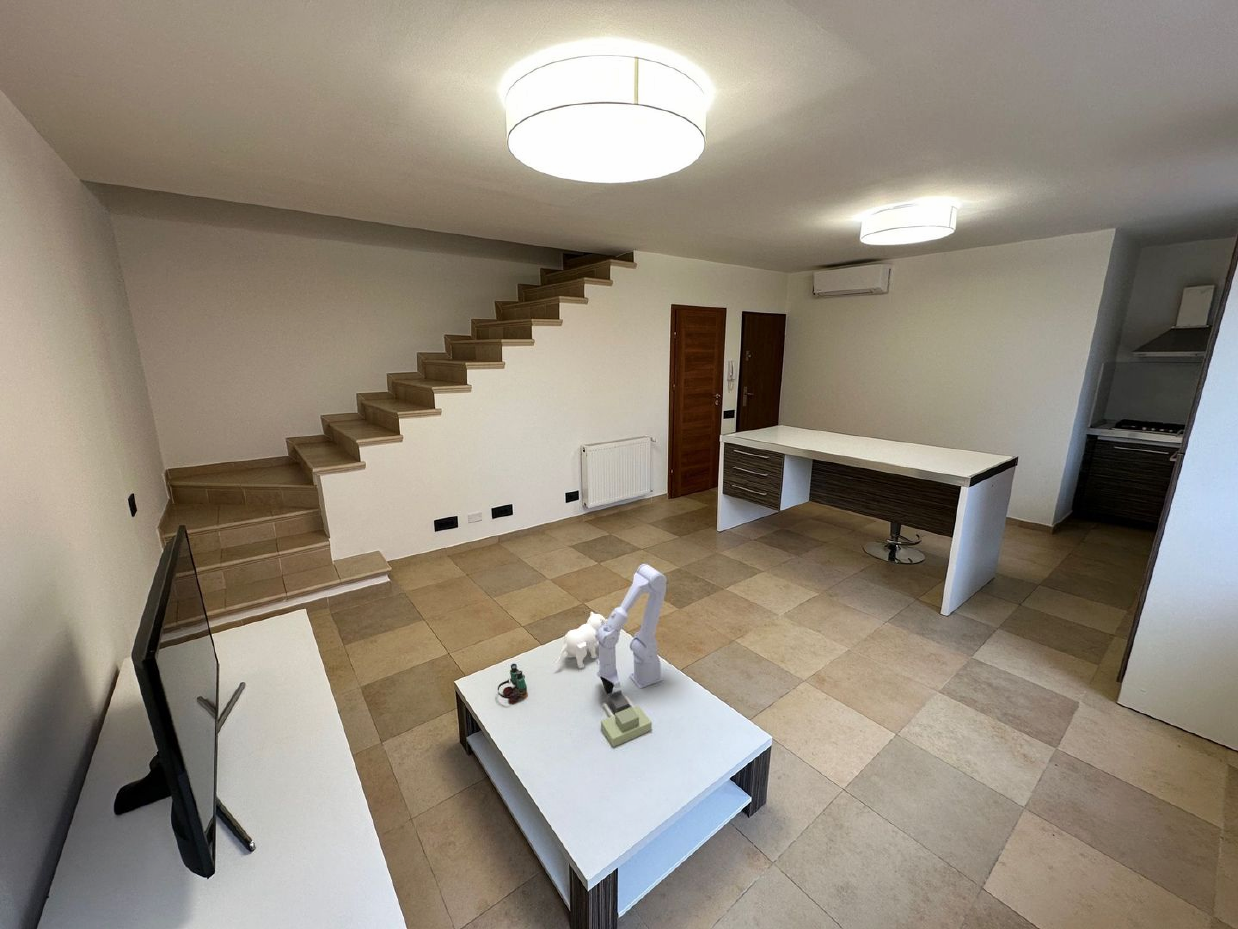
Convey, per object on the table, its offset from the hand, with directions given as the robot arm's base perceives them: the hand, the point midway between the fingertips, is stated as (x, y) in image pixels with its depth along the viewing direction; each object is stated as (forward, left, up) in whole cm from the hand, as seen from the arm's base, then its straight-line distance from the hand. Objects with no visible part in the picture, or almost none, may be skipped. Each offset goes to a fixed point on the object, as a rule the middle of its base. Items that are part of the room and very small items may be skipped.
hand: (608, 692), depth 172 cm
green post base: (+2, +13, -1) cm, 13 cm away
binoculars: (+30, -16, -1) cm, 34 cm away
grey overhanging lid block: (0, +8, -1) cm, 8 cm away
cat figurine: (0, -23, -1) cm, 23 cm away
